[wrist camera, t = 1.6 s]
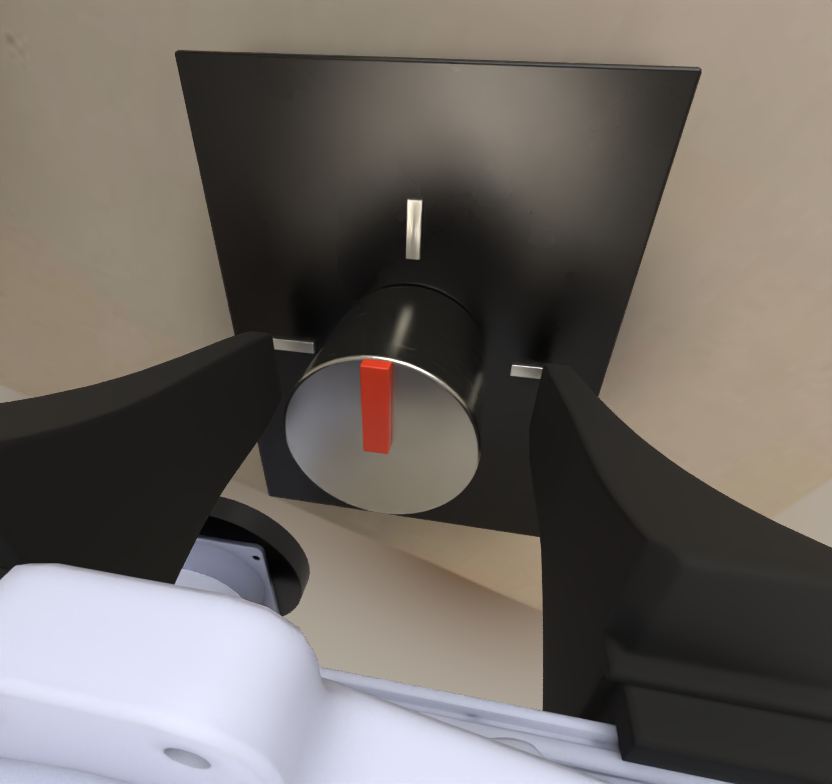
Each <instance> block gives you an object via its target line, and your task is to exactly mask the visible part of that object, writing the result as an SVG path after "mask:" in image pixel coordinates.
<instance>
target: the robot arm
mask: <svg viewBox="0 0 832 784" xmlns="http://www.w3.org/2000/svg"><path fill="white" fill-rule="evenodd" d="M281 398H282V392H281V386H280V380H279V374H278V368H277V361H276V355H275V349H274V343H273V337H272V333H263V332H254V331H249V332H245V333H242V334H238V335H235V336H232V337H230V338H227V339H224V340H222V341H219V342H217V343H214V344H211V345H209V346H206V347H204V348H201V349H199V350H196V351H194V352H191V353H189V354H186V355H184V356H181V357H178V358H176V359H173V360H170V361H167V362H164V363H162V364H159V365H156V366H153V367H151V368H148V369H145V370H142V371H139V372H136V373H133V374H130V375H127V376H123V377H120V378H116V379H113V380H109V381H106V382H102V383H98V384H95V385H91V386H87V387H82V388H77V389H73V390H68V391H64V392H59V393H54V394H50V395H45V396H40V397H35V398H29V399H23V400H18V401H12V402H5V403H0V784H832V548H831V547H829V546H827V545H825V544H822V543H820V542H817V541H816V540H814V539H811V538H809V537H807V536H805V535H803V534H800V533H798V532H796V531H794V530H792V529H790V528H787V527H785V526H783V525H781V524H778V523H777V522H775V521H773V520H771V519H769V518H767V517H765V516H763V515H761V514H759V513H757V512H755V511H753V510H752V509H750V508H748V507H746V506H744V505H742V504H740V503H738V502H736V501H735V500H733V499H731V498H729V497H728V496H726V495H724V494H722V493H721V492H719V491H717V490H716V489H714V488H712V487H711V486H709V485H707V484H706V483H704V482H703V481H701V480H700V479H698V478H696V477H695V476H693V475H692V474H690V473H688V472H687V471H685V470H684V469H682V468H681V467H679V466H678V465H677V464H675V463H674V462H672V461H671V460H669V459H668V458H667V457H665V456H664V455H663V454H661V453H660V452H659V451H657V450H656V449H655V448H653V447H652V446H651V445H649V444H648V443H647V442H646V441H645V440H643V439H642V438H641V437H640V436H638V435H637V434H636V433H635V432H634V431H633V430H632V429H631V428H629V427H628V426H627V425H626V424H625V423H624V422H623V421H622V420H620V419H619V418H618V417H617V416H616V415H615V414H614V413H613V412H612V411H611V410H610V409H609V408H608V407H607V406H606V405H605V404H604V403H603V402H602V401H601V400H600V399H599V398H598V397H597V395H596V394H595V393H594V392H593V391H592V390H591V389H590V388H589V387H588V386H587V385H586V384H585V382H584V381H583V380H582V379H581V378H580V377H579V376H578V375H577V374H576V373H575V371H574V370H573V369H572V368H571V367H570V366H566V365H557V364H548V363H544V365H543V369H542V373H541V378H540V382H539V387H538V391H537V396H536V400H535V404H534V409H533V413H532V418H531V422H530V427H529V461H530V469H531V476H532V483H533V490H534V497H535V504H536V511H537V518H538V525H539V532H540V542H541V558H542V593H543V711H541V710H536V709H531V708H526V707H521V706H516V705H511V704H505V703H500V702H495V701H490V700H485V699H480V698H475V697H470V696H465V695H460V694H454V693H449V692H444V691H440V690H435V689H430V688H424V687H419V686H414V685H409V684H404V683H399V682H393V681H389V680H383V679H379V678H374V677H369V676H364V675H358V674H353V673H348V672H343V671H338V670H332V669H328V668H323V667H319V663H318V659H317V657H316V655H315V653H314V651H313V649H312V647H311V646H310V644H309V642H308V641H307V639H306V638H305V636H304V634H303V633H302V631H301V630H300V628H299V627H297V626H296V625H294V624H293V623H291V622H290V621H288V620H287V619H285V618H284V617H282V616H281V615H280V611H279V607H278V603H277V599H276V595H275V591H274V587H273V583H272V579H271V575H270V570H269V566H268V562H267V558H266V554H265V550H264V548H263V547H262V546H261V545H259V544H254V543H248V542H242V541H236V540H230V539H224V538H218V537H212V536H206V535H200V534H199V533H200V531H201V529H202V527H203V525H204V524H205V522H206V520H207V518H208V516H209V514H210V512H211V511H212V509H213V507H214V505H215V503H216V501H217V500H218V498H219V496H220V495H221V493H222V492H223V490H224V489H225V487H226V485H227V484H228V483H229V481H230V480H231V478H232V477H233V475H234V474H235V473H236V471H237V470H238V468H239V467H240V465H241V464H242V463H243V461H244V460H245V458H246V457H247V455H248V454H249V453H250V451H251V450H252V448H253V447H254V445H255V444H256V443H257V441H258V440H259V438H260V437H261V435H262V434H263V432H264V431H265V429H266V428H267V426H268V425H269V423H270V421H271V419H272V417H273V415H274V413H275V411H276V409H277V406H278V404H279V402H280V400H281Z"/></svg>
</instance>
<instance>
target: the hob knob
mask: <svg viewBox="0 0 832 784" xmlns="http://www.w3.org/2000/svg"><path fill="white" fill-rule="evenodd" d="M486 359H487V358H486V348H485V344H484V340H483V337H482V335H481V332H480V330H479V329H478V327H477V325H476V323H475V322H474V321H473V319H472V318H471V317H470V315H469V314H468V313H467V312H466V311H465V310H464V309H463V308H462V307H461V306H459V305H458V304H457V303H456V302H454V301H453V300H451V299H450V298H448V297H446V296H445V295H443V294H440V293H438V292H436V291H433V290H430V289H426V288H423V287H416V286H392V287H387V288H383V289H379V290H377V291H374V292H372V293H370V294H368V295H366V296H365V297H363V298H362V299H360V300H359V301H358V302H356V303H355V304H354V305H353V306H352V307H351V309H350V310H349V311H348V312H347V314H346V315H345V316H344V318H343V319H342V321H341V322H340V323H339V325H338V326H337V327H336V329H335V330H334V332H333V333H332V334H331V336H330V337H329V339H328V340H327V341H326V343H325V344H324V345H323V347H322V348H321V350H320V351H319V352H318V354H317V355H316V357H315V358H314V359H313V361H312V362H311V363H310V365H309V366H308V368H307V369H306V370H305V372H304V373H303V374H302V376H301V377H300V379H299V380H298V381H297V383H296V384H295V386H294V387H293V389H292V390H291V392H290V394H289V396H288V398H287V401H286V405H285V409H284V418H283V425H284V434H285V438H286V442H287V444H288V447H289V449H290V452H291V454H292V455H293V457H294V459H295V461H296V462H297V464H298V465H299V466H300V468H301V469H302V470H303V472H304V473H305V474H306V475H307V476H308V477H309V478H310V479H311V480H312V481H313V482H314V483H316V484H317V485H318V486H319V487H320V488H322V489H323V490H325V491H326V492H327V493H329V494H331V495H332V496H334V497H336V498H337V499H339V500H342V501H344V502H346V503H348V504H350V505H353V506H356V507H358V508H362V509H365V510H369V511H374V512H379V513H387V514H411V513H418V512H423V511H427V510H430V509H434V508H436V507H439V506H441V505H443V504H445V503H447V502H449V501H450V500H452V499H453V498H455V497H456V496H457V495H458V494H460V493H461V492H462V491H463V490H464V489H465V488H466V486H467V485H468V484H469V483H470V481H471V480H472V478H473V477H474V475H475V473H476V470H477V468H478V465H479V461H480V457H481V442H482V426H483V409H484V393H485V376H486Z"/></svg>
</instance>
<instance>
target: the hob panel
mask: <svg viewBox="0 0 832 784" xmlns="http://www.w3.org/2000/svg"><path fill="white" fill-rule="evenodd" d="M175 57H176V62H177V67H178V71H179V76H180V81H181V85H182V90H183V95H184V99H185V104H186V109H187V114H188V118H189V123H190V128H191V132H192V137H193V142H194V146H195V151H196V156H197V161H198V165H199V170H200V175H201V179H202V184H203V189H204V193H205V198H206V203H207V207H208V212H209V217H210V222H211V226H212V231H213V236H214V240H215V245H216V250H217V254H218V259H219V264H220V269H221V273H222V278H223V283H224V287H225V292H226V297H227V301H228V306H229V311H230V315H231V320H232V325H233V330H234V334H235V335H238V334H242V333H245V332H249V331H254V332H263V333H272V337H273V343H274V349H275V355H276V361H277V368H278V374H279V380H280V386H281V392H282V398H281V400H280V402H279V404H278V406H277V409H276V411H275V413H274V415H273V417H272V419H271V421H270V423H269V425H268V426H267V428H266V429H265V431H264V432H263V434H262V435H261V437H260V438H259V440H258V441H257V442H258V447H259V452H260V456H261V461H262V466H263V470H264V475H265V480H266V484H267V489H268V494H269V496H273V497H279V498H286V499H292V500H299V501H306V502H312V503H319V504H325V505H332V506H338V507H345V508H352V509H358V510H365V509H362V508H358V507H356V506H353V505H350V504H348V503H346V502H344V501H342V500H339V499H337V498H336V497H334V496H332V495H331V494H329V493H327V492H326V491H325V490H323V489H322V488H320V487H319V486H318V485H317V484H316V483H314V482H313V481H312V480H311V479H310V478H309V477H308V476H307V475H306V474H305V473H304V472H303V470H302V469H301V468H300V466H299V465H298V464H297V462H296V461H295V459H294V457H293V455H292V454H291V452H290V449H289V447H288V444H287V442H286V438H285V434H284V425H283V418H284V409H285V405H286V401H287V398H288V396H289V394H290V392H291V390H292V389H293V387H294V386H295V384H296V383H297V381H298V380H299V379H300V377H301V376H302V374H303V373H304V372H305V370H306V369H307V368H308V366H309V365H310V363H311V362H312V361H313V359H314V358H315V357H316V355H317V354H318V352H319V351H320V350H321V348H322V347H323V345H324V344H325V343H326V341H327V340H328V339H329V337H330V336H331V334H332V333H333V332H334V330H335V329H336V327H337V326H338V325H339V323H340V322H341V321H342V319H343V318H344V316H345V315H346V314H347V312H348V311H349V310H350V309H351V307H352V306H353V305H354V304H355V303H356V302H358V301H359V300H360V299H362V298H363V297H365V296H366V295H368V294H370V293H372V292H374V291H377V290H379V289H383V288H387V287H392V286H416V287H423V288H426V289H430V290H433V291H436V292H438V293H440V294H443V295H445V296H446V297H448V298H450V299H451V300H453V301H454V302H456V303H457V304H458V305H459V306H461V307H462V308H463V309H464V310H465V311H466V312H467V313H468V314H469V315H470V317H471V318H472V319H473V321H474V322H475V323H476V325H477V327H478V329H479V330H480V332H481V335H482V337H483V340H484V344H485V348H486V358H487V359H486V376H485V393H484V409H483V426H482V442H481V457H480V461H479V465H478V468H477V470H476V473H475V475H474V477H473V478H472V480H471V481H470V483H469V484H468V485H467V486H466V488H465V489H464V490H463V491H462V492H461V493H460V494H458V495H457V496H456V497H455V498H453V499H452V500H450V501H449V502H447V503H445V504H443V505H441V506H439V507H436V508H434V509H430V510H427V511H423V512H418V513H411V514H391V515H398V516H404V517H411V518H417V519H424V520H431V521H437V522H444V523H450V524H457V525H463V526H470V527H477V528H483V529H490V530H496V531H503V532H509V533H516V534H523V535H529V536H536V537H540V532H539V525H538V518H537V511H536V504H535V497H534V490H533V483H532V476H531V469H530V461H529V427H530V422H531V418H532V413H533V409H534V404H535V400H536V396H537V391H538V387H539V382H540V378H541V373H542V369H543V365H544V363H548V364H557V365H566V366H570V367H571V368H572V369H573V370H574V371H575V373H576V374H577V375H578V376H579V377H580V378H581V379H582V380H583V381H584V382H585V384H586V385H587V386H588V387H589V388H590V389H591V390H592V391H593V392H594V393H595V394H596V395H597V397H598V396H599V392H600V389H601V386H602V383H603V380H604V377H605V374H606V370H607V367H608V364H609V361H610V358H611V355H612V352H613V348H614V345H615V342H616V339H617V336H618V333H619V330H620V327H621V323H622V320H623V317H624V314H625V311H626V308H627V305H628V301H629V298H630V295H631V292H632V289H633V286H634V283H635V280H636V276H637V273H638V270H639V267H640V264H641V261H642V258H643V254H644V251H645V248H646V245H647V242H648V239H649V236H650V232H651V229H652V226H653V223H654V220H655V217H656V214H657V211H658V207H659V204H660V201H661V198H662V195H663V192H664V189H665V185H666V182H667V179H668V176H669V173H670V170H671V167H672V164H673V160H674V157H675V154H676V151H677V148H678V145H679V142H680V138H681V135H682V132H683V129H684V126H685V123H686V120H687V116H688V113H689V110H690V107H691V104H692V101H693V98H694V95H695V91H696V88H697V85H698V82H699V79H700V76H701V68H699V67H681V66H650V65H620V64H589V63H558V62H528V61H497V60H466V59H435V58H405V57H374V56H343V55H313V54H282V53H251V52H221V51H190V50H178V51H176V52H175ZM365 511H369V510H365ZM371 512H374V511H371ZM378 513H379V512H378ZM385 514H387V513H385Z"/></svg>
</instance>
